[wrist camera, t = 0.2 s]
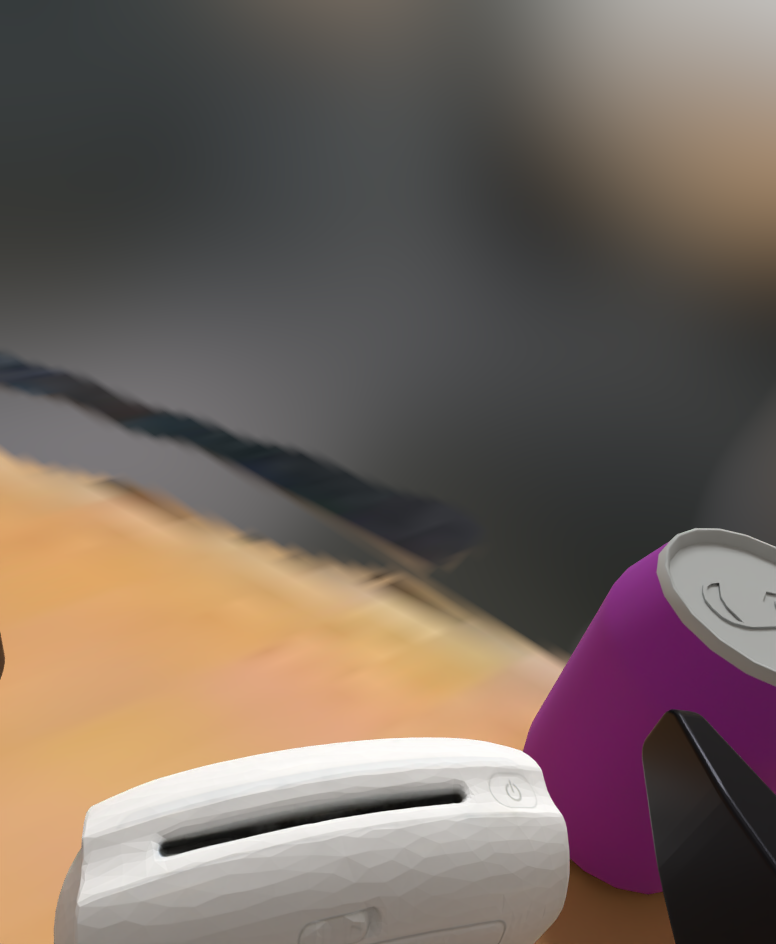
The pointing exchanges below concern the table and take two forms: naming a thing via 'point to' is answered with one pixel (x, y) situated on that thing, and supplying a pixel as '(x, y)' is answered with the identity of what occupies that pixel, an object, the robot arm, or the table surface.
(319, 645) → the table surface
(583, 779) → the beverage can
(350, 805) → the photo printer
